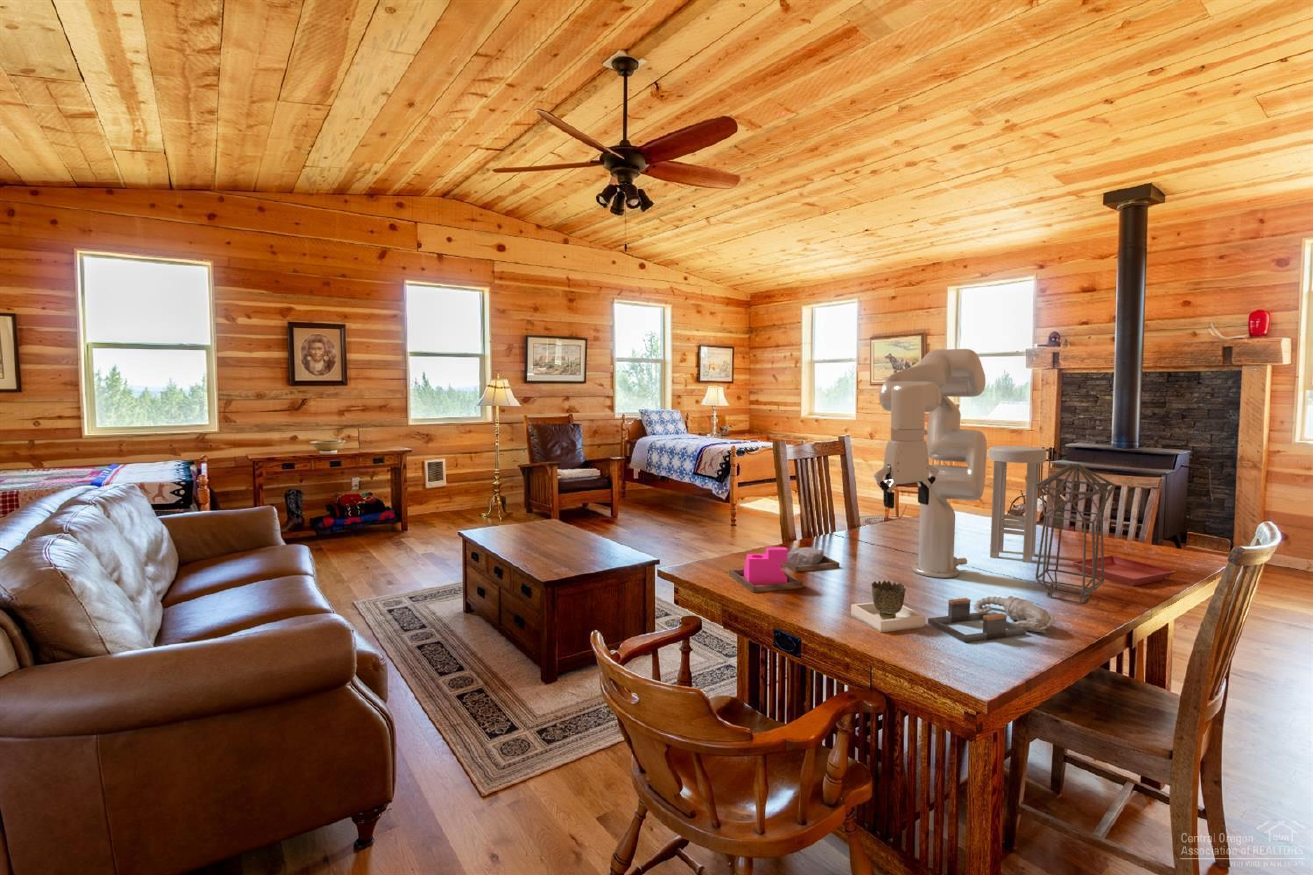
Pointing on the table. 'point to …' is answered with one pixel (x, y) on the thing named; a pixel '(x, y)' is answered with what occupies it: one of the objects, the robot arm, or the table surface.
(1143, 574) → the plant saucer
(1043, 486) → the geometric lantern
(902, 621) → the tray
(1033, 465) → the stool
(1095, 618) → the table surface
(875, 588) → the cup
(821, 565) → the brown rectangular frame
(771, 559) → the bracket
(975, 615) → the frame
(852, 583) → the table surface
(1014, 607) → the seahorse
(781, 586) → the brown wooden square tray
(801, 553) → the stone block
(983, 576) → the table surface
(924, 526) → the robot arm
